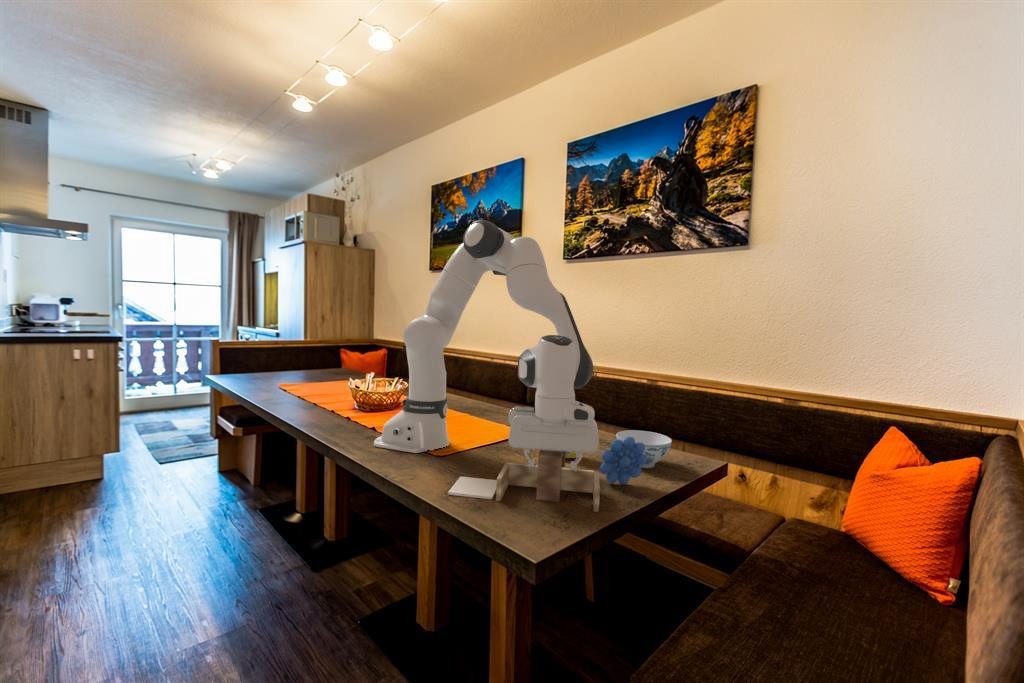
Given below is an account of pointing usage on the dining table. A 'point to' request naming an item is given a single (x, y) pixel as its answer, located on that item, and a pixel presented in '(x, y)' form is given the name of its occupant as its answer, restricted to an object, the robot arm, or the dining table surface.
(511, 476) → the u-shaped barrier
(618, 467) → the grapes
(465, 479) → the coaster
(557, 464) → the walnut block
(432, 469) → the dining table surface
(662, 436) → the chinaware
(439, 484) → the dining table surface
